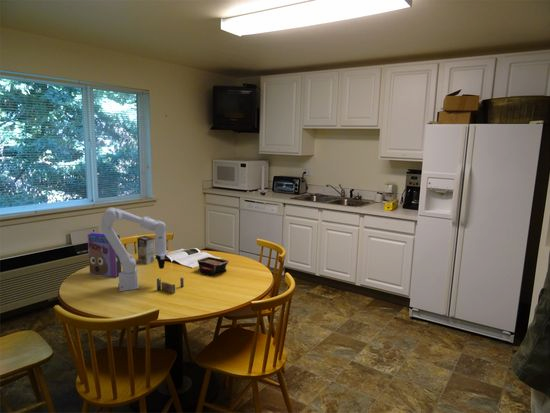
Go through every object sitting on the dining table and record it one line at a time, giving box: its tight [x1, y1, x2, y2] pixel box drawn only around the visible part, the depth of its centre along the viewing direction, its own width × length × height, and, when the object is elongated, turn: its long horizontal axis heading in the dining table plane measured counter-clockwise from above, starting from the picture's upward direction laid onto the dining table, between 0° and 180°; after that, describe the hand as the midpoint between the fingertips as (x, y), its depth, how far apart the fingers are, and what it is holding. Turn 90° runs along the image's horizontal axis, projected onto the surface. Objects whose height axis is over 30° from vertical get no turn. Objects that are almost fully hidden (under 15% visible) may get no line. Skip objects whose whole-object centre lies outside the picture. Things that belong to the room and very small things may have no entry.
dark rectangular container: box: [196, 256, 230, 276], centre depth 227 cm, size 14×18×10 cm
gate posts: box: [156, 277, 184, 292], centre depth 200 cm, size 14×2×6 cm, turn 114°
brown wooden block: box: [161, 281, 176, 294], centre depth 196 cm, size 8×2×4 cm, turn 59°
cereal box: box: [86, 232, 122, 279], centre depth 216 cm, size 17×5×24 cm, turn 76°
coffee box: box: [137, 235, 155, 265], centre depth 241 cm, size 9×6×16 cm
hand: (161, 268), depth 204 cm, fingers closed
